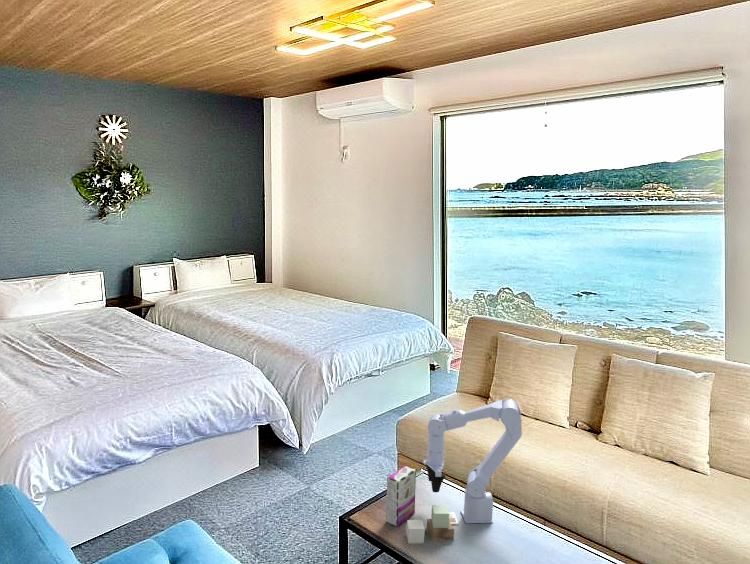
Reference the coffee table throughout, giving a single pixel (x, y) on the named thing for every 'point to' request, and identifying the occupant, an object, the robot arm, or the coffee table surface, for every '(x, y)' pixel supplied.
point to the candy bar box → (400, 495)
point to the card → (453, 518)
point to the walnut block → (440, 532)
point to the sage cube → (440, 516)
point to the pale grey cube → (415, 531)
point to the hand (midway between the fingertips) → (433, 486)
